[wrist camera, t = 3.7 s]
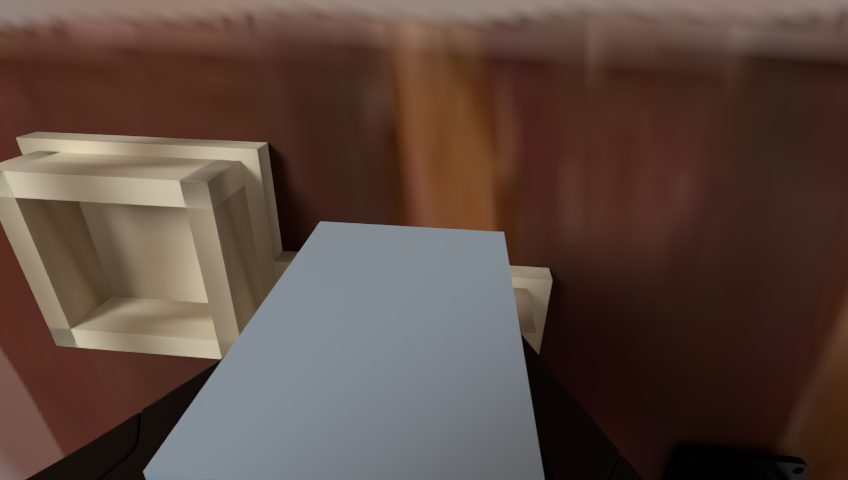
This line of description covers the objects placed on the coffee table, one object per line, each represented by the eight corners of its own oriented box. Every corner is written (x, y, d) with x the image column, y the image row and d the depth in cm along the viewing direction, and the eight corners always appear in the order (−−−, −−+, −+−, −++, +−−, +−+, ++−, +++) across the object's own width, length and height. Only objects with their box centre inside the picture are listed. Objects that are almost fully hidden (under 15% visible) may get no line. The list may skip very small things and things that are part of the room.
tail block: (503, 232, 9) (549, 511, 4) (487, 373, 11) (504, 693, 6) (320, 221, 10) (143, 471, 4) (333, 360, 12) (218, 656, 6)
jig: (568, 156, 17) (594, 193, 14) (508, 496, 27) (514, 570, 23) (37, 131, 19) (-64, 159, 15) (160, 461, 28) (115, 526, 25)
